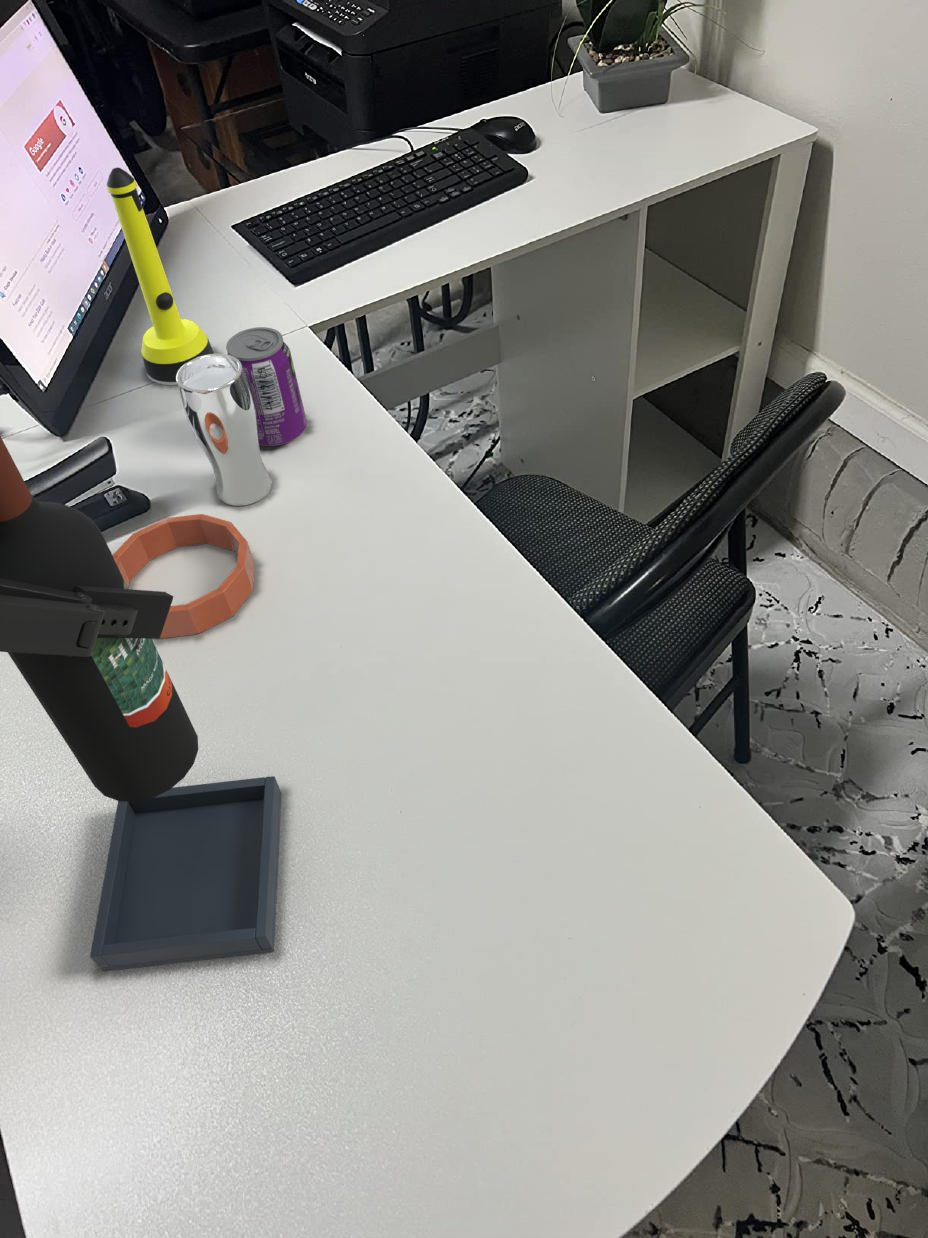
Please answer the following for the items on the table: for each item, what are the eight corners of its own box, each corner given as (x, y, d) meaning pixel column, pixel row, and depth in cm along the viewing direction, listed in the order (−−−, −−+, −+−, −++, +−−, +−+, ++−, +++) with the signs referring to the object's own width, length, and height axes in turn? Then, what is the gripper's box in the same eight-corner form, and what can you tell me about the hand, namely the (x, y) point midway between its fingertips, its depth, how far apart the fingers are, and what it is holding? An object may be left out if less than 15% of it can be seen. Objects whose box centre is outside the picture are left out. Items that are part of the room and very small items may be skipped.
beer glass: (289, 480, 107) (258, 363, 96) (246, 516, 103) (209, 399, 92) (243, 461, 110) (208, 345, 99) (200, 495, 106) (159, 379, 95)
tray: (102, 971, 70) (89, 957, 68) (129, 810, 80) (119, 793, 78) (274, 952, 70) (266, 936, 69) (281, 792, 80) (274, 775, 78)
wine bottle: (100, 717, 70) (-112, 353, 48) (204, 706, 70) (40, 337, 48) (79, 807, 65) (-170, 447, 42) (191, 796, 65) (1, 429, 42)
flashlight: (62, 168, 107) (93, 194, 102) (137, 144, 110) (170, 167, 105) (135, 363, 126) (164, 393, 120) (197, 338, 129) (227, 365, 124)
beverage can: (319, 421, 114) (299, 330, 105) (287, 456, 110) (264, 365, 101) (269, 409, 117) (245, 319, 108) (236, 443, 112) (208, 353, 103)
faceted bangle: (90, 614, 95) (77, 590, 93) (173, 527, 103) (163, 502, 101) (202, 653, 91) (192, 628, 88) (279, 558, 99) (272, 533, 96)
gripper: (-451, 555, 44) (-3, 585, 64) (-219, 756, 35) (215, 716, 55) (-416, 395, 42) (29, 477, 63) (-166, 561, 34) (257, 594, 54)
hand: (115, 589), depth 59 cm, fingers closed on wine bottle, 7 cm apart
